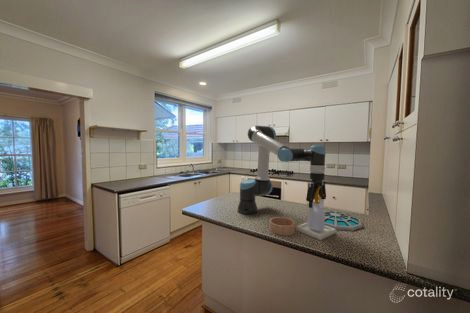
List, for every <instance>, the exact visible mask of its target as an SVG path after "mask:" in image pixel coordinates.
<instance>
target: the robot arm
mask: <svg viewBox="0 0 470 313" xmlns="http://www.w3.org/2000/svg"><path fill="white" fill-rule="evenodd" d="M247 137H248V140H250V141H251V142H253V143H254V144H257V146H258V155H257V156H258V157H257V172H256V173H257V175H256V176H255V178H254V179H244V180H242V181H240V183H239V202H238V205H237V212H238V213H239V212H240V213H239V214H242V213H243V214H244V215H253V214H254V215H255V214H257V213H258V209H259V208H258V206H257V202H256V197H259V196H266V195H269V194H270V193H271V192H272V191H273V182H272V181H271V178H270V177H269V168H270V167H269V166H270V165H269V164H270V152H271V153H273V155H276V157H277V158H278V160H279V161H280V162H283V163H288V162H289V163H290V162H310V165H309V166H310V167H309V168H310V169H309V171H310V172H309V179H311V182H308V183H307V192H306V199H305V201H307V202H308V208H309V213H312V214H314V201H315V200H314V197H315V194H316V191H317V189H318V187H319V186H321V188H320V189H319V196H318V197H321V198H320V199H319V200H318V202H320V207H321V208H322V209H323V210H324V201H325V200H326V199H327V189H326V181H324V180H325V175H326V174H325V169H326V165H325V163H326V154H327V153H326V146H325V145H319V144H318V145H311V146H310V148H290V147H288V146H287V145H284V144H283V143H281V142H279V141H277V140H276V138H277V133H276V130H275V128H273V127H272V126H269V125H267V126H266V125H253V126H251V127H249V129H248V131H247ZM313 188H315V189H313Z"/></svg>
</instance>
